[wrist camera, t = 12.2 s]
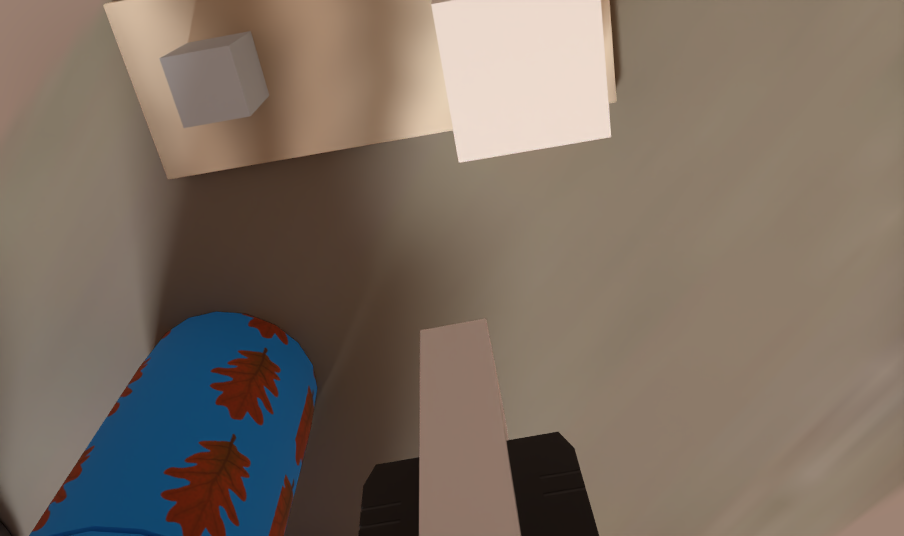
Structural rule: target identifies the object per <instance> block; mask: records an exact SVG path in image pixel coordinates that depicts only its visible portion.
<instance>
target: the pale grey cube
mask: <svg viewBox="0 0 904 536" xmlns="http://www.w3.org/2000/svg"><path fill="white" fill-rule="evenodd" d="M159 59H160V62H161V64H162V67H163V70H164V73H165V76H166V79H167V82H168V85H169V87H170V90H171V93H172V96H173V99H174V102H175V105H176V108H177V110H178V113H179V116H180V119H181V122H182V125H183V128H187V127H193V126H199V125H204V124H210V123H215V122H221V121H227V120H232V119H238V118H244V117H249V116H251V115H252V114H253V113H254V112H255V111H256V110H257V109H258V108H259V106H260V105H261V104H262V103H263V102H264V101H265V100H266V99H267V98H268V96H269V93H268V89H267V86H266V82H265V79H264V75H263V72H262V68H261V65H260V61H259V58H258V54H257V51H256V47H255V44H254V40H253V37H252V34H251V31H248V32H243V33H237V34H232V35H227V36H221V37H216V38H210V39H205V40H200V41H194V42H189V43H186V44H185V45H183V46H181V47H179V48H177V49H175V50H174V51H172V52H170V53H168V54H166V55H164V56H163V57H161V58H159Z"/></svg>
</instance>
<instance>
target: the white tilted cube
mask: <svg viewBox="0 0 904 536" xmlns="http://www.w3.org/2000/svg"><path fill="white" fill-rule="evenodd" d="M431 6H432V12H433V18H434V23H435V29H436V35H437V41H438V46H439V52H440V58H441V63H442V69H443V75H444V80H445V86H446V92H447V98H448V103H449V109H450V115H451V120H452V126H453V132H454V138H455V143H456V149H457V155H458V160H459V163H460V162H466V161H472V160H478V159H484V158H490V157H496V156H501V155H507V154H513V153H519V152H525V151H531V150H537V149H543V148H549V147H555V146H561V145H567V144H573V143H579V142H585V141H590V140H596V139H602V138H608V137H611V130H610V116H609V103H608V90H607V76H606V63H605V50H604V36H603V23H602V9H601V0H432V1H431Z"/></svg>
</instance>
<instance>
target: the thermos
mask: <svg viewBox="0 0 904 536" xmlns="http://www.w3.org/2000/svg"><path fill="white" fill-rule="evenodd" d="M316 393H317V385H316V380H315V374H314V369H313V365H312V363H311V362H310V360H309V359H308V357H307V356H306V354H305V353H304V351H303V349H302V348H301V346H300V345H299V343H298V342H297V341H295V340H294V339H293V338H291V337H290V336H289V335H288V334H286V333H285V332H284V331H282V330H281V329H280V328H279V327H277V326H276V325H274V324H272V323H269V322H266V321H264V320H261V319H259V318H256V317H253V316H251V315H248V314H241V313H228V312H212V313H208V314H204V315H200V316H195V317H191V318H188V319H186V320H185V321H183V322H182V323H180V324H179V325H177V326H176V327H174V328H173V329H171V330H170V331H168V332H167V333H166V334H165V335H164V336H163V338H162V339H161V340H160V341H159V343H158V344H157V345H156V347H155V348H154V349H153V350H152V352H151V353H150V354H149V356H148V357H147V358H146V359H145V361H144V362H143V363H142V365H141V366H140V367H139V369H138V370H137V372H136V373H135V375H134V376H133V378H132V379H131V381H130V382H129V384H128V386H127V387H126V389H125V390H124V392H123V393H122V395H121V396H120V398H119V399H118V401H117V402H116V404H115V405H114V407H113V408H112V410H111V411H110V413H109V415H108V416H107V418H106V419H105V421H104V422H103V424H102V425H101V427H100V428H99V430H98V431H97V433H96V434H95V436H94V437H93V439H92V441H91V442H90V444H89V445H88V447H87V448H86V450H85V451H84V453H83V454H82V456H81V457H80V459H79V460H78V462H77V463H76V465H75V467H74V468H73V470H72V471H71V473H70V474H69V476H68V477H67V479H66V480H65V482H64V483H63V485H62V486H61V488H60V489H59V491H58V492H57V494H56V496H55V497H54V499H53V500H52V502H51V503H50V505H49V506H48V508H47V509H46V511H45V512H44V514H43V515H42V517H41V518H40V520H39V522H38V523H37V525H36V526H35V528H34V529H33V531H32V532H31V534H30V535H29V536H284V534H285V530H286V526H287V522H288V518H289V514H290V510H291V506H292V502H293V498H294V494H295V490H296V486H297V482H298V478H299V474H300V470H301V466H302V462H303V458H304V454H305V450H306V446H307V442H308V437H309V433H310V429H311V424H312V418H313V412H314V405H315V399H316Z"/></svg>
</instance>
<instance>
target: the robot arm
mask: <svg viewBox="0 0 904 536" xmlns="http://www.w3.org/2000/svg"><path fill="white" fill-rule="evenodd" d="M361 509H362V512H361V515H360V525H359V526H360V530H359V535H358V536H599V534H598V530H597V527H596V523H595V519H594V516H593V512H592V509H591V505H590V502H589V498H588V495H587V491H586V489H585V484H584V481H583V477H582V474H581V471H580V467H579V463H578V460H577V456H576V453H575V449H574V447H573V446H572V445H571V444H570V443H569V442H568V441H567V440H566V439H565V438H564V437H563V436H562V435H561V434H560V433H559V432H554V433H548V434H542V435H536V436H530V437H525V438H519V439H513V440H509V439H508V433H507V426H506V420H505V414H504V409H503V404H502V399H501V394H500V388H499V383H498V378H497V373H496V367H495V362H494V357H493V352H492V347H491V341H490V336H489V331H488V326H487V321H486V319H480V320H475V321H469V322H464V323H458V324H452V325H447V326H441V327H436V328H430V329H425V330H420V450H419V457H418V458H412V459H407V460H401V461H395V462H389V463H383V464H377V465H376V466H375V467H374V469H373V471H372V472H371V474H370V476H369V477H368V479H367V481H366V483H365V484H364V486H363V496H362V506H361ZM0 536H11V535H10V533H9V532H8V531H7V529H6V528H5V527H4V526H3V525H2V523H1V522H0Z"/></svg>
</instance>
